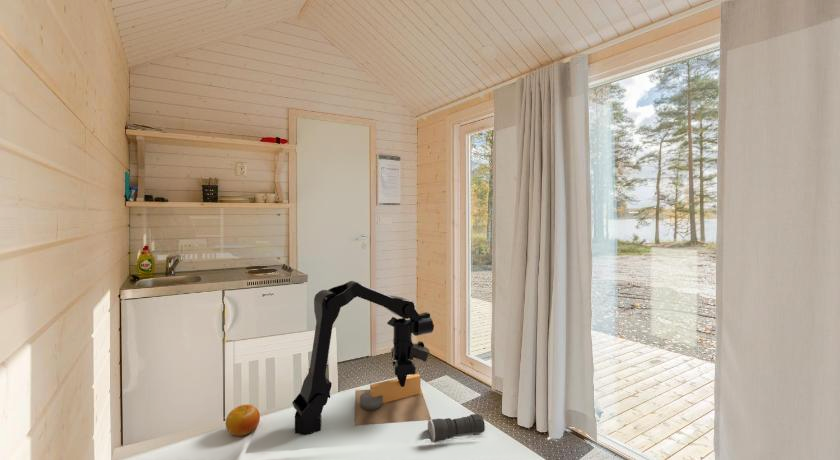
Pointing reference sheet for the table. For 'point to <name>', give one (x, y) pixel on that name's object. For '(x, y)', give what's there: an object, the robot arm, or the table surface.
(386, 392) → the orange and grey block
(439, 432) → the flashlight
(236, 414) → the fruit
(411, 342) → the robot arm
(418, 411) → the board
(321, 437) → the table surface
